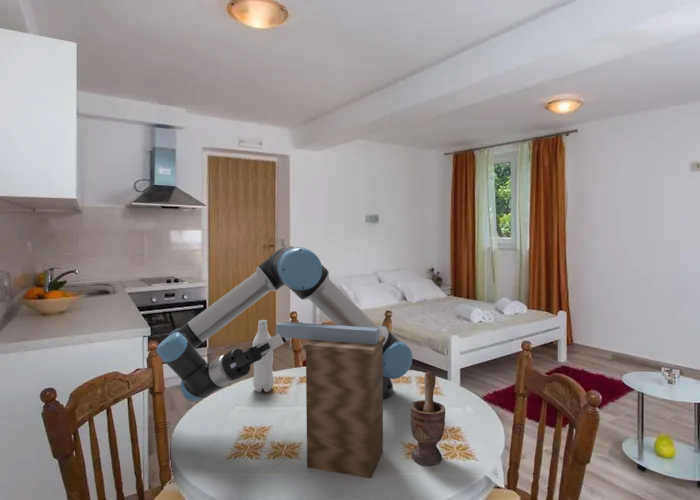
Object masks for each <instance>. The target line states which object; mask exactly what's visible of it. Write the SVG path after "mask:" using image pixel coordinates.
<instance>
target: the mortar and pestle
mask: <svg viewBox="0 0 700 500" xmlns="http://www.w3.org/2000/svg"><path fill="white" fill-rule="evenodd" d="M435 387H436V373H435V372H434V371H425V373H424V394H425V395H424V399H423V400H421V399H420V400H416V401H413V402H411V403H410V406H409V414H410V418H409V421H410V428H411V433H412V437H413V438H414V440H415V441H416V442H417V445H416V446H414V448H413V449H412V452H411V457H412V459H413V460H414V461H415V462H416V463H418V464H420V465H421V466H431V465H437V464H440V463H441V462H442V460H443V456H442V453H441V451H440V449H439V448H438V446H437V445H438V443H439V442H440V441H441V440H442V438H443V435H444V431H445V426H446V407H445V405H443V404H441V403H439V402H437V401H434V390H435Z"/></svg>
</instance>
